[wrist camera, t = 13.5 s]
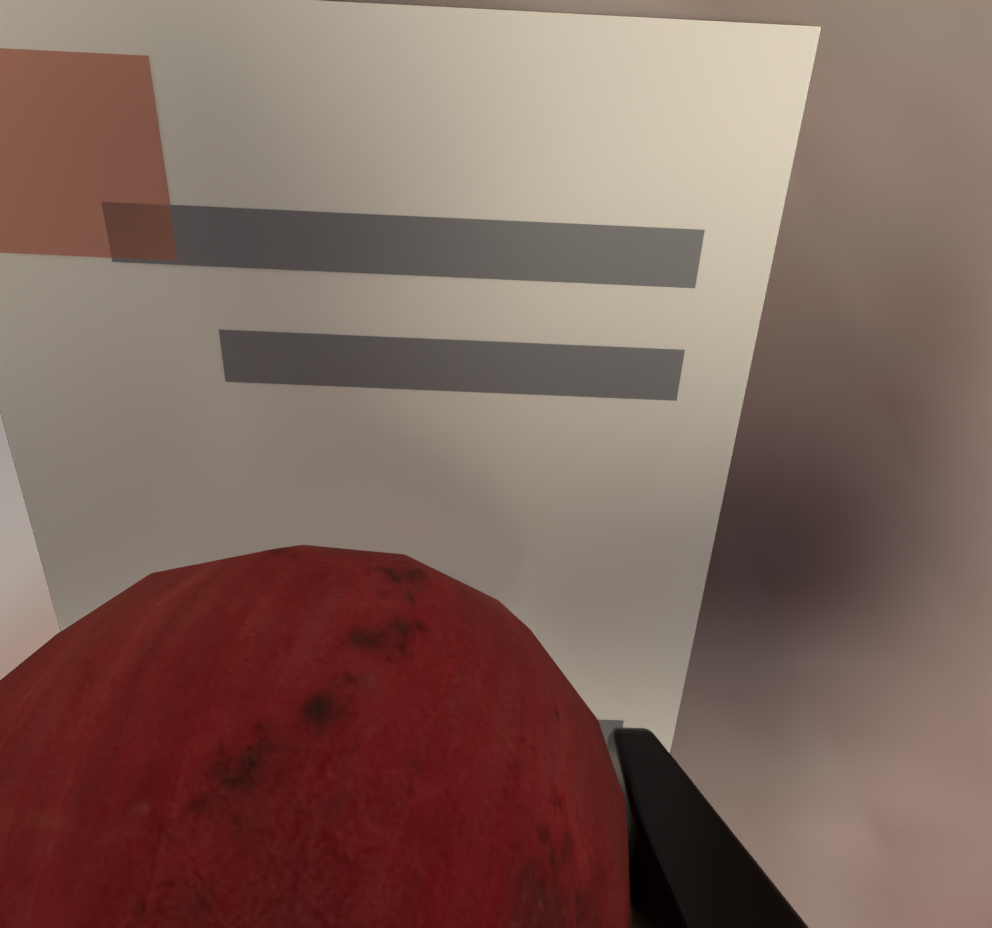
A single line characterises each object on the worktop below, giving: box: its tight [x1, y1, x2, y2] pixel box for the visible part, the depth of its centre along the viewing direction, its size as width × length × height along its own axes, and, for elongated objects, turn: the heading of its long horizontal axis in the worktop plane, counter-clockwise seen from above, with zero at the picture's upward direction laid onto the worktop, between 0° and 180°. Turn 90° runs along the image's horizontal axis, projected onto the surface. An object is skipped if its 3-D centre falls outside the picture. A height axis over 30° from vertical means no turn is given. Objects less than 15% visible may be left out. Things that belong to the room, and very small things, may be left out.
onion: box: [0, 545, 632, 928], centre depth 6 cm, size 6×6×8 cm
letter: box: [0, 0, 821, 753], centre depth 11 cm, size 14×10×1 cm
